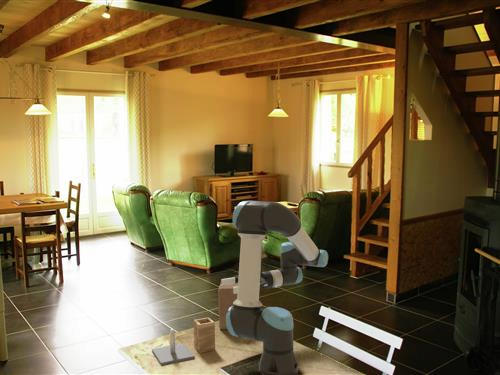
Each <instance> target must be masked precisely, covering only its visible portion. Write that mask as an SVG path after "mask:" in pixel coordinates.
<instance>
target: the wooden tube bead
mask: <svg viewBox="0 0 500 375" xmlns="http://www.w3.org/2000/svg"><path fill="white" fill-rule="evenodd" d="M215 324H216V322H215V321H214V320H213V319H211V317H203V318H197V319H193V346H194V348H195V350H196V351H197V353H199V354H201V353H205V352H210V351H215V350H216V329H215V328H216V326H215Z"/></svg>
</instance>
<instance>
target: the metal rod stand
mask: <svg viewBox="0 0 500 375" xmlns="http://www.w3.org/2000/svg"><path fill="white" fill-rule="evenodd" d="M175 332H176V331H175V329H173V328H171V329H170V330H169V345H167V346H166V345H165V346H161V347H155V348H151V352H152V354H153V353H154V354H153V355H154V356H155V359H156V360H157V361H158V363H159V364H160V366H165V365H169V364H173V363H175V364H176V363H179V362H184V361H187V360H192V359H196V358H195V357H196V355H195V354H194V353H193V352H192V351H191V350H190V349H189V347H188V346H187V345H186V344H185V343H184V342H181V343H177V344H176V333H175Z"/></svg>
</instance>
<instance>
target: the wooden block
mask: <svg viewBox="0 0 500 375" xmlns="http://www.w3.org/2000/svg"><path fill="white" fill-rule="evenodd" d="M237 286H238V283H236V284H229V285H223V286H222V285H221V283H220V284H219V287H218V292H217V293H218V294H217V295H218V298H217V299H218V327H219V330H228V329H227V326H226V315H227V313H228V309H229V308H230V307H231V306H233V302H234V301H235V300H236V299H237V294H238V293H236V294H234V293H233V287H237Z"/></svg>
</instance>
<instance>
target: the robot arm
mask: <svg viewBox="0 0 500 375" xmlns="http://www.w3.org/2000/svg"><path fill="white" fill-rule="evenodd" d="M232 224H233V227H234V228H235V229H237V235H238V237H240V251H239V266H238V275H233V277H228V278H227V277H226V278H222V279H220V284H221V285H222V286H223V285H229V284H236V283H238V286H237V287H233V293H234V294H236V293H238V294H237V299H236V300H235V301H234V302H233V306H231V307H230V308H229V309H228V313H227V315H226V326H227V329H226V330H227V331H228V333H229V334H230V335H231V336H233V337H237V338H239V339H245V340H250V341H255V342H260V343H262V352H261V356H260V359H259V363H258V372H259V371H260V372H261V373H262V374H264V375H298V373H299V362H298V360H297V357H296V354H295V351H294V326H295V325H294V318H293V315H292V313H291V312H290V311H289V310H287V309H285V308H283V307H278V306H267V307H265V308H263V303H262V302H261V301H260V291H261V290H266V289H272V288H276V289H277V288H278V287H283V286H289V285H296V284H298V283H301V282H302V281H303V276H304V274H303V271H302V270H303V269H302V268H300V267H299V266H298V265H300V266H306V267H307V266H309V267H317V268H325V267H326V266H327V265H328V261H329V254H328V252H327V250H324V249H319V248H318V247H317V246H316V244H315V242H314V241H313V240H312V239H311V237H310V236H309V235H308V233H307V232H306V230H305V229H304V227H303V226H302V221H301V219H300V218H299V216H298V215H297V214H296V213H295V212H294V211H293V210H292V209H290V208H289V207H287V206H285V205H284V204H282V203H280V202H278V201H277V202H276V201H264V200H263V201H259V200H243V201H241V202H239V203H238V204H237V205H236V206H235V209H234V210H233V214H232ZM267 232H275V233H279V234H280V235H282V237H285V238H286V239H288V241H287V242H282V243H281V244H280V252H279V254H280V269H275V270H274V269H273V270H269V271H268V270H267V271H262V272H261V268H262V252H263V240H264V239H265V238H266V237H267V234H268V233H267Z"/></svg>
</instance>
